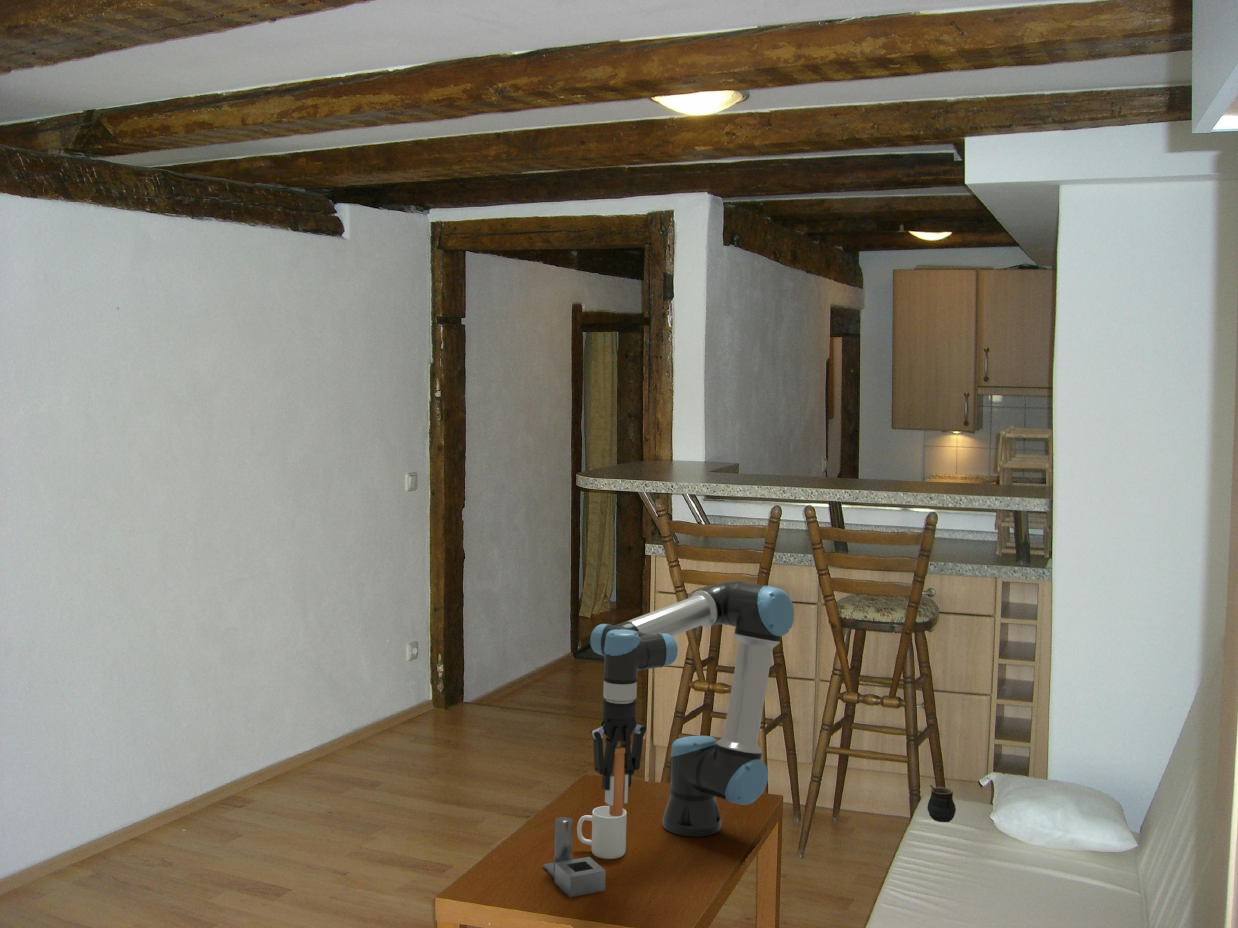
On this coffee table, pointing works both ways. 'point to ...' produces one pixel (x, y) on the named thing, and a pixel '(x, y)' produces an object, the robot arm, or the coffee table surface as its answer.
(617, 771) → the wedge pin
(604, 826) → the cup
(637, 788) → the coffee table surface
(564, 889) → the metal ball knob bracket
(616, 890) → the coffee table surface
